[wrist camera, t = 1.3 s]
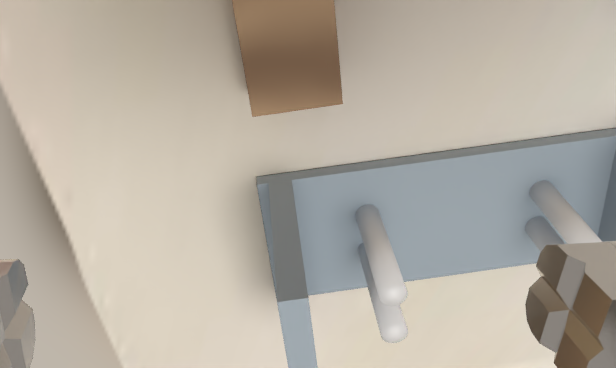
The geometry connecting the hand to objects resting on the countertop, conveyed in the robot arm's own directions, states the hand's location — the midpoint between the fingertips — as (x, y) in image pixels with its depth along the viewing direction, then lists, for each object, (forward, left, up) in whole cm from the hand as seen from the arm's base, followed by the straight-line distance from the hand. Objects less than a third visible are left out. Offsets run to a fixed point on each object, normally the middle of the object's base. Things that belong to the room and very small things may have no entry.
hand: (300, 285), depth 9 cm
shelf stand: (-11, +18, -26) cm, 33 cm away
